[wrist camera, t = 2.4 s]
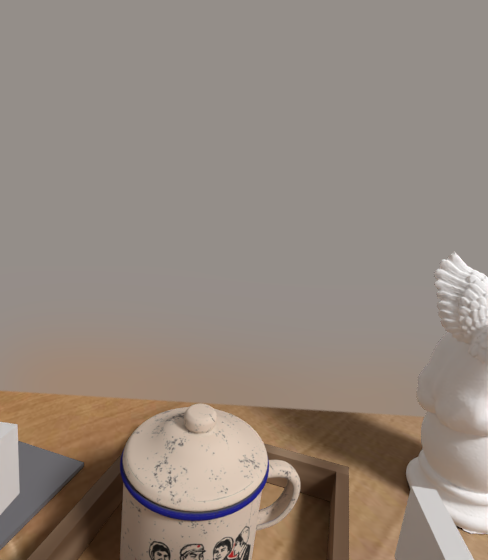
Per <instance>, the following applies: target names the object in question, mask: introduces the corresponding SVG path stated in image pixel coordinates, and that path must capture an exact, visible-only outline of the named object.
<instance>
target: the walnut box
mask: <svg viewBox="0 0 488 560" xmlns="http://www.w3.org/2000/svg"><path fill="white" fill-rule="evenodd" d="M264 446H265V448H266V451H267V456H268V460H282V461H285V462H287V463H289V464H290V465H291V466H292V467H293V468H294V469H295V470H296V472H297V474H298V476H299V478H300V492H301V493H304V494H307V495H311V496H314V497H317V498H320V499H324V500H327V501H330V518H329V534H328V551H327V560H349V467H346V466H343V465H339V464H336V463H332V462H329V461H325V460H321V459H318V458H314V457H311V456H307V455H303V454H300V453H296V452H293V451H289V450H286V449H282V448H278V447H275V446H271V445H268V444H264ZM121 455H122V454H121ZM120 460H121V456H120V457H119V458H118V459H117V460H116V461H115V462H114V463H113V464H112V466H111V467H110V468H109V469H108V470H107V471H106V472H105V473H104V474H103V476H102V477H101V478H100V479H99V480H98V481H97V482H96V483H95V484H94V486H93V487H92V488H91V489H90V490H89V491H88V492H87V493H86V494H85V495H84V497H83V498H82V499H81V500H80V501H79V502H78V503H77V504H76V505H75V507H74V508H73V509H72V510H71V511H70V512H69V513H68V514H67V515H66V517H65V518H64V519H63V520H62V521H61V522H60V523H59V524H58V525H57V527H56V528H55V529H54V530H53V531H52V532H51V533H50V534H49V535H48V537H47V538H46V539H45V540H44V541H43V542H42V543H41V544H40V545H39V547H38V548H37V549H36V550H35V551H34V552H33V553H32V554H31V555H30V557H29V558H28V559H27V560H77V559H78V558H79V557H80V555H81V554H82V553H83V551H84V550H85V549H86V547H87V546H88V545H89V544H90V542H91V541H92V540H93V538H94V537H95V536H96V534H97V533H98V532H99V530H100V529H101V528H102V526H103V525H104V524H105V522H106V521H107V520H108V518H109V517H110V516H111V515H112V513H113V512H114V511H115V509H116V508H117V507H118V505H119V504H120V503H121V501H122V500H123V480H122V477H121V472H120ZM266 482H268V483H271V484H274V485H278V486H281V487H284V488H285V487H286V484H287V479H286V478H281V477H276V478H267V481H266Z"/></svg>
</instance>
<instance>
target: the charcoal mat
mask: <svg viewBox="0 0 488 560" xmlns="http://www.w3.org/2000/svg"><path fill="white" fill-rule="evenodd" d="M18 458H19V489H20V493H19V494H18V496H17V497H16V498H15V499H14V500H13V501H12V502H11V503H10V505H9V506H8V507H7V508H6V509H5V510H4V511H3V512H2V514H1V515H0V550H1V549H2V548H3V547H4V546H5V545H6V544H7V543H8V542H9V541H10V540H11V539H12V538H13V537H14V536H15V535H16V534H17V533H18V532H19V531H20V530H21V529H22V528H23V527H24V526H25V525H26V524H27V523H28V522H29V521H30V520H31V519H32V518H33V517H34V516H35V515H36V514H37V513H38V512H39V511H40V510H41V509H42V508H43V507H44V506H45V505H46V504H47V503H48V502H49V501H50V500H51V499H52V498H53V497H54V496H55V495H56V494H57V493H58V492H59V491H60V490H61V489H62V488H63V487H64V486H65V485H66V484H67V483H68V482H69V481H70V480H71V479H72V478H73V477H74V476H75V475H76V474H77V473H78V472H79V471H80V470H81V469H82V468H83V467H84V462H81V461H78V460H75V459H72V458H69V457H66V456H63V455H59V454H56V453H53V452H50V451H47V450H44V449H41V448H38V447H35V446H32V445H29V444H26V443H23V442H20V441H18Z"/></svg>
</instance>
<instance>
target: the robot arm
mask: <svg viewBox="0 0 488 560" xmlns="http://www.w3.org/2000/svg"><path fill="white" fill-rule="evenodd" d="M19 493H20V489H19V458H18V427H17V424H11V423H4V422H0V515H1V514H2V512H3V511H4V510H5V509H6V508H7V507H8V506H9V505H10V503H11V502H12V501H13V500H14V499H15V498H16V497H17V496H18V494H19ZM395 559H396V560H474V559H473V557H472V555H471V553H470V551H469V549H468V548H467V546H466V544H465V542H464V540H463V538H462V537H461V535H460V533H459V531H458V529H457V527H456V525H455V524H454V522H453V520H452V518H451V516H450V514H449V512H448V511H447V509H446V507H445V505H444V503H443V501H442V500H441V498H440V496H439V494H438V492H437V490H434V489H428V488H422V487H415V486H411V490H410V494H409V498H408V502H407V506H406V511H405V515H404V519H403V523H402V527H401V532H400V536H399V540H398V544H397V548H396V553H395Z"/></svg>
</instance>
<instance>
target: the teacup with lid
mask: <svg viewBox="0 0 488 560" xmlns="http://www.w3.org/2000/svg"><path fill="white" fill-rule="evenodd" d="M120 472H121V477H122V480H123V503H122V524H121V545H120V560H251V559H252V553H253V546H254V539H255V533H256V530H261V529H265V528H268V527H270V526H273V525H275V524H277V523H278V522H280V521H281V520H282V519H283V518H285V517H286V516H287V514H288V513H289V512H290V511H291V510H292V508H293V507H294V505H295V503H296V501H297V499H298V496H299V493H300V478H299V476H298V474H297V472H296V470H295V469H294V468H293V467H292V466H291V465H290V464H289V463H287V462H285V461H282V460H268V456H267V451H266V448H265V446H264V443H263V441H262V440H261V438H260V436H259V435H258V434H257V432H256V431H255V430H254V429H253V428H252V427H251V426H250V425H248V424H247V423H246V422H244V421H243V420H241V419H240V418H238V417H236V416H234V415H232V414H229V413H227V412H224V411H220V410H216V409H213V408H212V407H211V406H209V405H206V404H194V405H192V406H190V407H185V408H178V409H173V410H169V411H165V412H162V413H160V414H157V415H155V416H153V417H151V418H150V419H148V420H147V421H145V422H144V423H142V424H141V425H140V426H139V427H138V428H137V429H136V430H135V431H134V432H133V434H132V435H131V436H130V438H129V439H128V441H127V443H126V445H125V447H124V450H123V452H122V455H121V460H120ZM276 477H281V478H286V479H287V484H286V487H285V489H284V491H283V493H282V494H281V496H280V497H279V498H278V499H277V500H276V501H275V502H274V503H273V504H272V505H270V506H269V507H267V508H264V509H261V510H259V506H260V499H261V493H262V489H263V488H264V486H265V483H266V481H267V478H276Z"/></svg>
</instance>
